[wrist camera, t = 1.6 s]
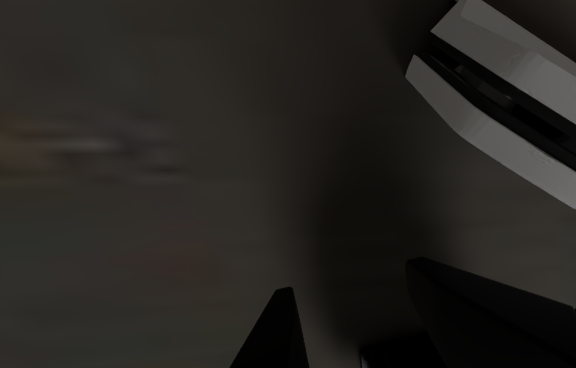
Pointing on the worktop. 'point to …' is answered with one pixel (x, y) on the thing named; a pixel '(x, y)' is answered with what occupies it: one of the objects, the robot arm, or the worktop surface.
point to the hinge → (503, 93)
